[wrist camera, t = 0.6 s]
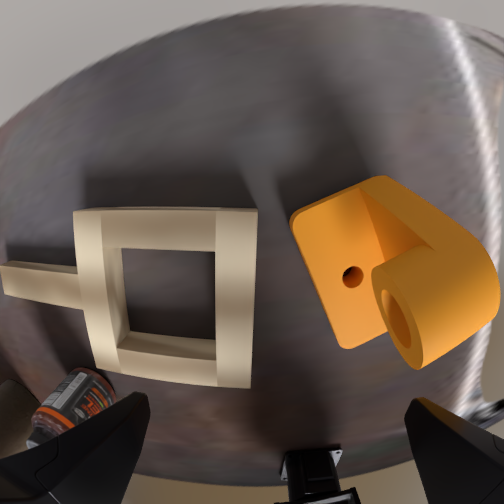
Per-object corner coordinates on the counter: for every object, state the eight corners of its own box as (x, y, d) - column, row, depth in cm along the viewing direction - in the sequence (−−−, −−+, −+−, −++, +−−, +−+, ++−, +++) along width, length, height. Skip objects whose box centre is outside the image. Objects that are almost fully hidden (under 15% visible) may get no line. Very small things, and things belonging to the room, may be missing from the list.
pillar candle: (27, 381, 25) (-35, 445, 10) (62, 434, 27) (17, 501, 12) (-4, 376, 26) (-57, 426, 11) (27, 424, 28) (-15, 478, 13)
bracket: (283, 214, 20) (319, 252, 8) (370, 176, 19) (482, 172, 8) (334, 335, 22) (383, 444, 10) (408, 298, 21) (495, 374, 10)
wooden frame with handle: (251, 366, 23) (250, 388, 20) (26, 330, 23) (10, 341, 20) (257, 208, 20) (257, 212, 17) (7, 212, 20) (-13, 216, 17)
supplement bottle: (128, 406, 24) (87, 485, 13) (90, 408, 25) (48, 474, 14) (98, 361, 23) (39, 436, 12) (62, 367, 24) (6, 429, 13)
